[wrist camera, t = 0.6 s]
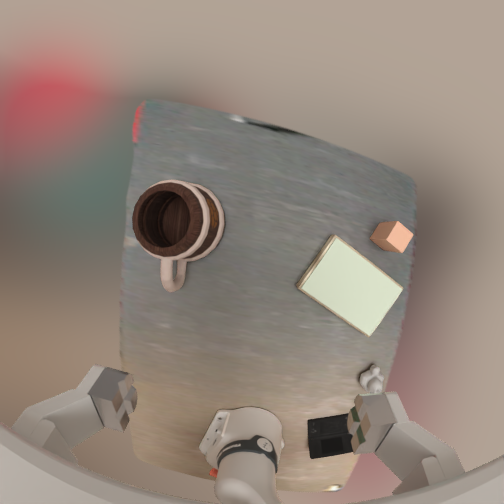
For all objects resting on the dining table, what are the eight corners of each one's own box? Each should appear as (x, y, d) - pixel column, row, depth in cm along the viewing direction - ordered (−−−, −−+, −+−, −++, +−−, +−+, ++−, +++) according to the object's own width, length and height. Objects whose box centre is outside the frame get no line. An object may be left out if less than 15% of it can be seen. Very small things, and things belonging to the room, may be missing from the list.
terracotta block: (383, 250, 55) (402, 253, 46) (369, 238, 55) (386, 239, 46) (393, 234, 54) (413, 234, 45) (379, 222, 54) (397, 220, 45)
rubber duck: (354, 386, 57) (364, 404, 49) (361, 360, 56) (372, 376, 48) (376, 386, 56) (387, 403, 48) (383, 361, 56) (396, 376, 48)
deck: (363, 332, 56) (369, 338, 52) (296, 285, 56) (298, 288, 52) (396, 285, 55) (404, 288, 51) (331, 234, 55) (335, 234, 51)
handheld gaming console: (352, 409, 56) (358, 448, 48) (353, 416, 60) (358, 451, 53) (303, 418, 58) (306, 457, 51) (308, 424, 63) (311, 459, 55)
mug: (158, 184, 57) (124, 170, 42) (230, 186, 56) (216, 170, 41) (152, 280, 58) (117, 294, 43) (222, 287, 57) (206, 306, 42)
